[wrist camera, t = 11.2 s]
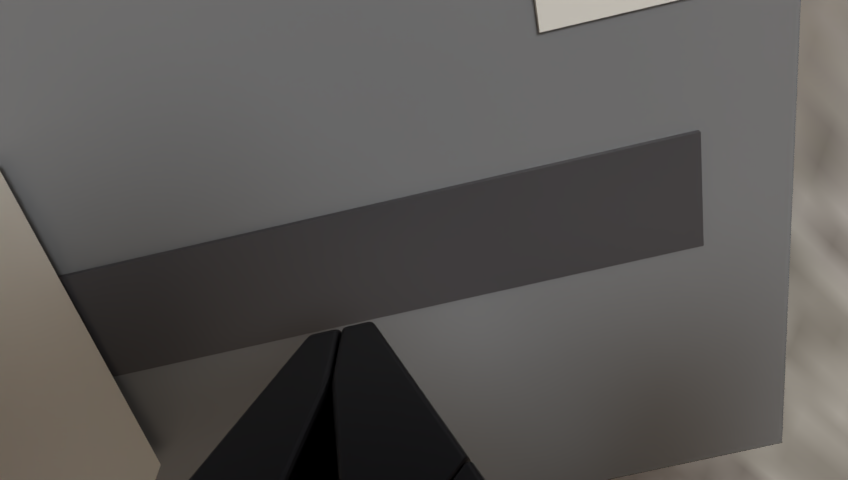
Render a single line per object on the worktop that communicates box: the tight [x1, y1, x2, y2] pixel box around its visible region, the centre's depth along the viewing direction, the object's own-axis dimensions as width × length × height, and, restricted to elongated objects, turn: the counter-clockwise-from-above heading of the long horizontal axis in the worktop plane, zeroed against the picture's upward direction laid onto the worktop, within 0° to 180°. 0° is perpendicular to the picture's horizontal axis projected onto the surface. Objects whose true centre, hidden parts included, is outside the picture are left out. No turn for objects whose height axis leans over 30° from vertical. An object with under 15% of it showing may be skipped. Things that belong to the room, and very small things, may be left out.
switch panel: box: [0, 0, 801, 480], centre depth 12 cm, size 12×18×3 cm, turn 102°
